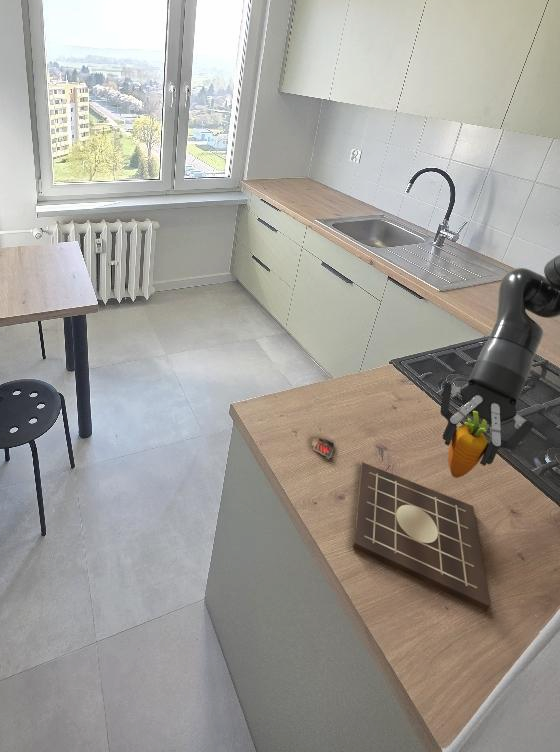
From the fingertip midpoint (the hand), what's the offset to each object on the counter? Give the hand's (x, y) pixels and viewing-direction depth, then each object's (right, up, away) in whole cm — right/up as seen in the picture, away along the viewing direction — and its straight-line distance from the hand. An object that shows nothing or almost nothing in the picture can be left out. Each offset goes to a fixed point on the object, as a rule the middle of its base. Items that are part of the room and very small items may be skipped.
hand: (464, 454), depth 74 cm
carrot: (+1, -7, +4) cm, 8 cm away
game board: (-7, -16, +3) cm, 17 cm away
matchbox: (-19, -8, +19) cm, 28 cm away
